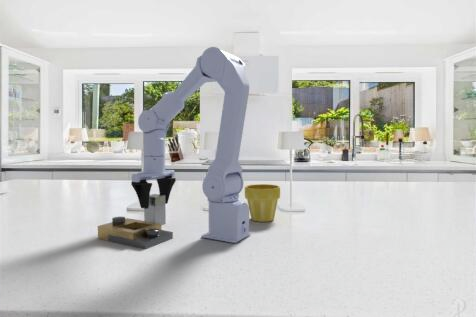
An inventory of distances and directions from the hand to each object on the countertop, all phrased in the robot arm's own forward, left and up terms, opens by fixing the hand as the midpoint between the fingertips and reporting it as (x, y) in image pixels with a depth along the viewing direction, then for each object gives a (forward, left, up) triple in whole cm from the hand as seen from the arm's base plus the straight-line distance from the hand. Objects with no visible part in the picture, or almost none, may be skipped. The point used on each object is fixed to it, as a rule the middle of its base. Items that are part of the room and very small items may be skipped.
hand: (154, 205), depth 92 cm
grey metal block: (0, 0, -5) cm, 5 cm away
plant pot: (-23, -20, -5) cm, 31 cm away
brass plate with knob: (-5, +12, -5) cm, 14 cm away
